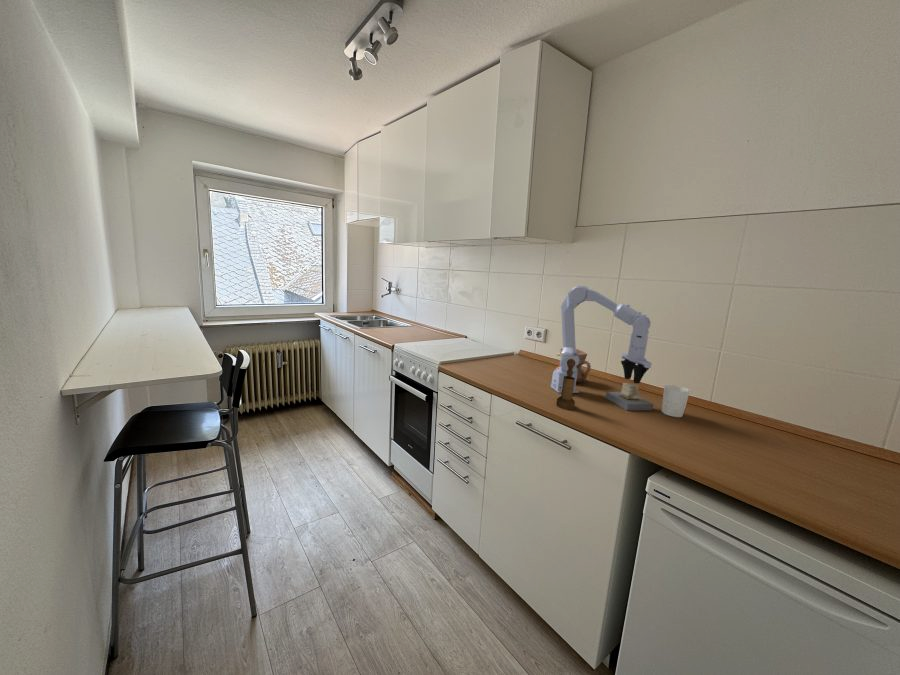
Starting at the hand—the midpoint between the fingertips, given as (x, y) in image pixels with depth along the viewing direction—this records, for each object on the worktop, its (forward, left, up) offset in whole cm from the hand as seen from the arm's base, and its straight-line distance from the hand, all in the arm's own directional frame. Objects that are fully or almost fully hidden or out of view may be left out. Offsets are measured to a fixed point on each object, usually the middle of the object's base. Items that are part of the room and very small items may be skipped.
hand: (631, 380), depth 139 cm
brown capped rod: (-28, -2, -10) cm, 30 cm away
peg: (0, 0, -9) cm, 9 cm away
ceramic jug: (-8, +30, -10) cm, 33 cm away
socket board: (0, 0, -9) cm, 9 cm away
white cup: (+11, -10, -10) cm, 18 cm away
